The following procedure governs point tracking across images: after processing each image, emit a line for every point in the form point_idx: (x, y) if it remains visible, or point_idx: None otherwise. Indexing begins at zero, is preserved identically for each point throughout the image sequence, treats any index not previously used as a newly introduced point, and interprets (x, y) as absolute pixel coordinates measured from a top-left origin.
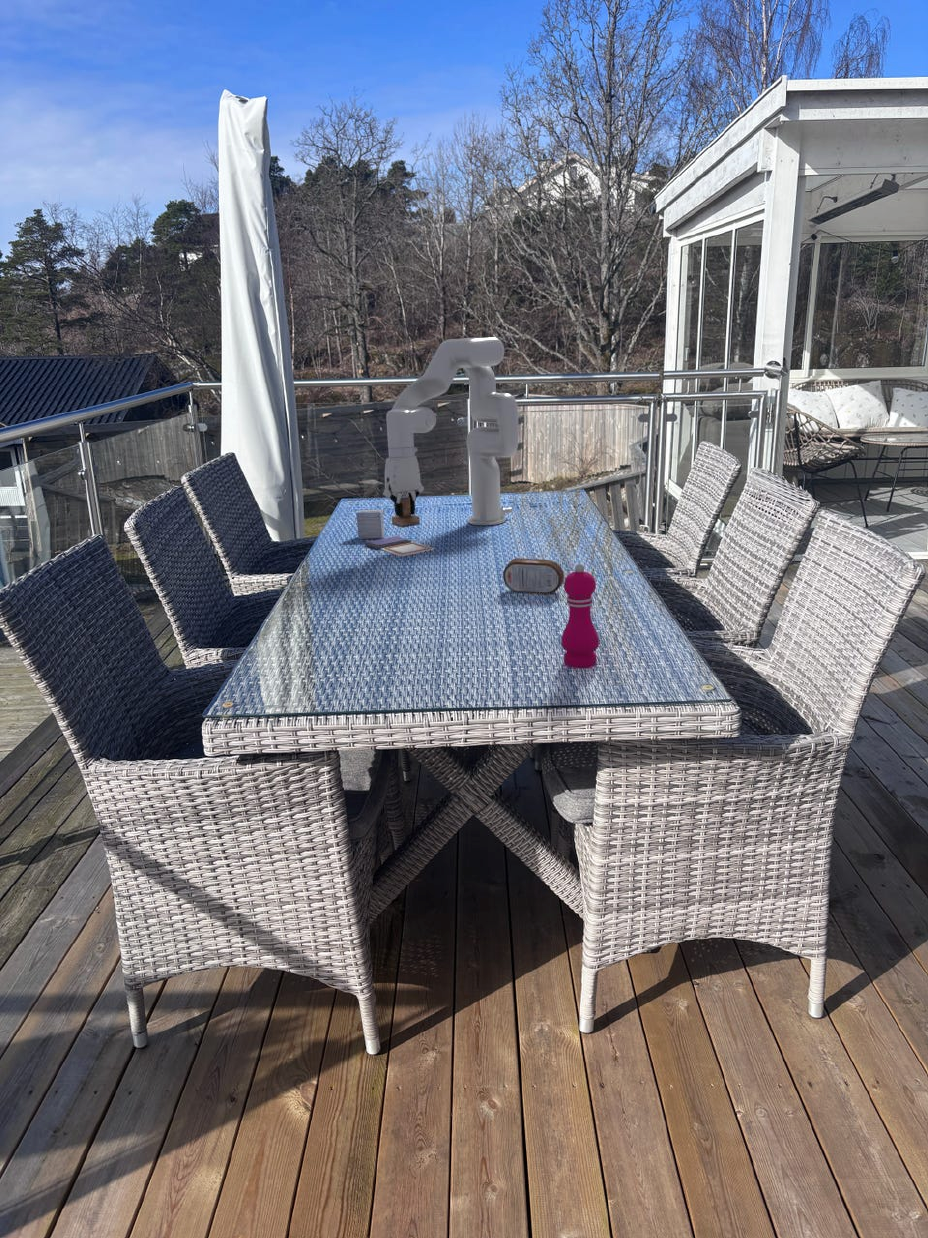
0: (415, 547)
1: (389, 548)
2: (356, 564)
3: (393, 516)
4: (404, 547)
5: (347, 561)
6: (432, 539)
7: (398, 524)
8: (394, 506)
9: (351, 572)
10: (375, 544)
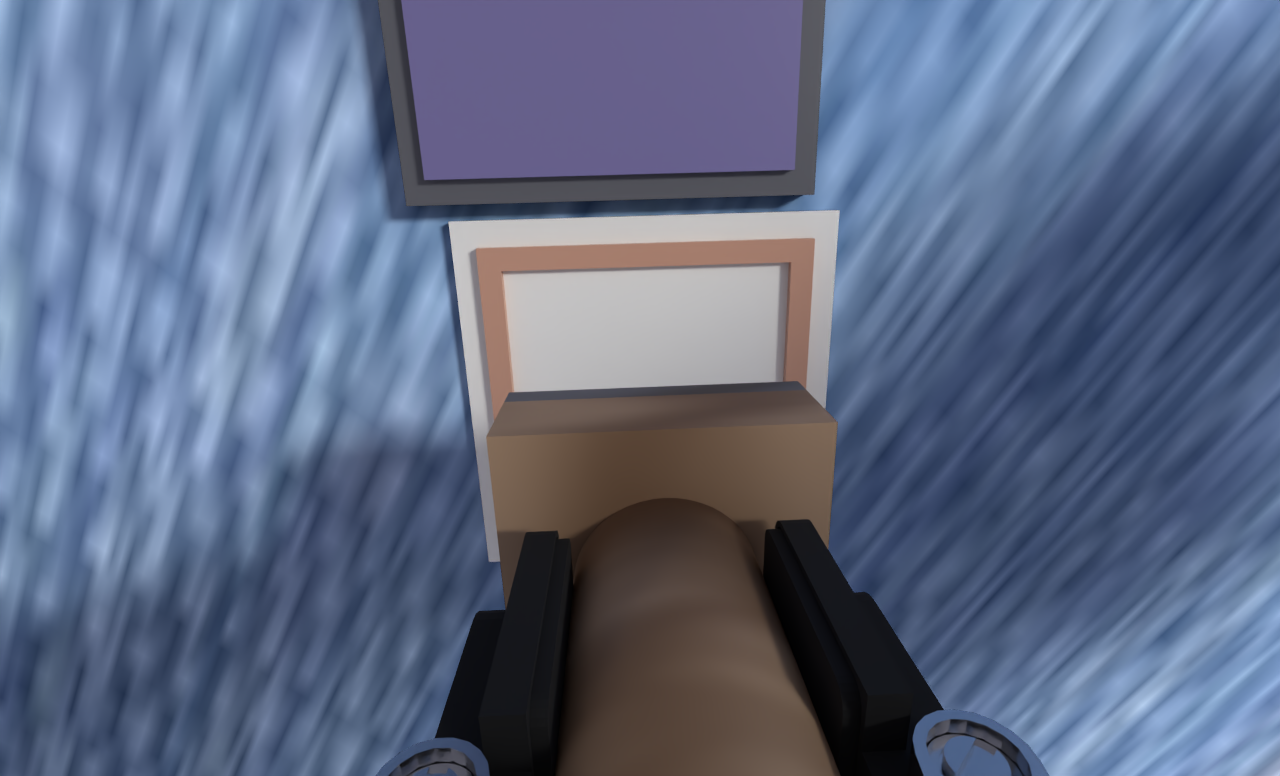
0: None
1: (502, 315)
2: (96, 544)
3: (523, 435)
4: (648, 342)
5: (41, 414)
6: (1045, 196)
7: None
8: (449, 696)
9: (15, 704)
10: (418, 121)
